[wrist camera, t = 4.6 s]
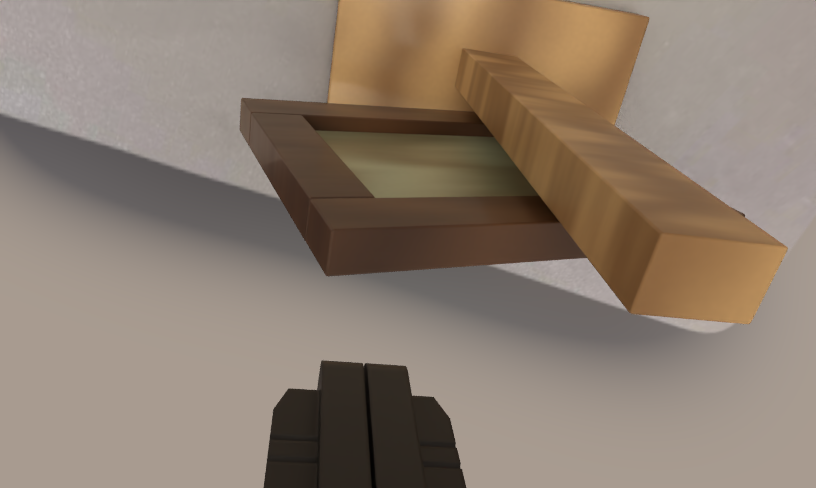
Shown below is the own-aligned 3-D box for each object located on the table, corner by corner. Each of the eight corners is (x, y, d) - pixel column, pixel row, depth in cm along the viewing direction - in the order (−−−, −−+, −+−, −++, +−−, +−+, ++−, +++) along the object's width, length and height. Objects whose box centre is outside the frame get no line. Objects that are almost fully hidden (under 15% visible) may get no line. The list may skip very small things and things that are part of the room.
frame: (239, 130, 25) (326, 277, 16) (240, 97, 25) (331, 230, 15) (545, 141, 32) (731, 247, 23) (552, 115, 32) (746, 214, 22)
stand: (325, 117, 34) (314, 404, 13) (343, -40, 30) (365, 27, 10) (593, 153, 36) (919, 437, 16) (637, 13, 33) (1125, 152, 13)
